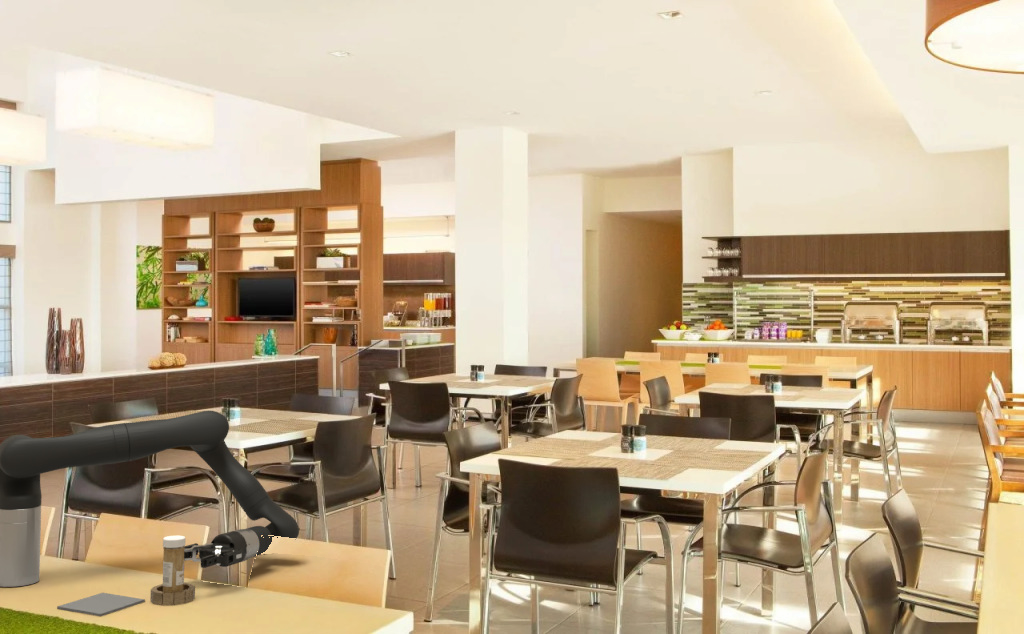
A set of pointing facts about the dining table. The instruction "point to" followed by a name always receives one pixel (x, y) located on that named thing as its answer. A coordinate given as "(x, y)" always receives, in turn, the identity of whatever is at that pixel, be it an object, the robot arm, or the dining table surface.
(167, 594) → the ring holder
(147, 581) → the dining table surface
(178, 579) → the sprinkles bottle
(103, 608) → the rubber mat
